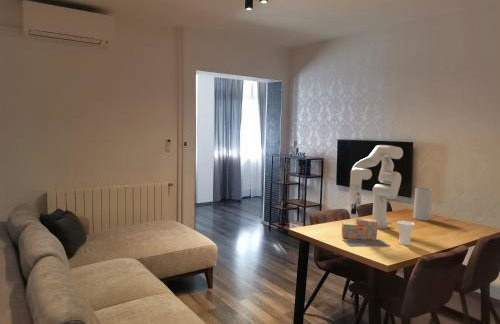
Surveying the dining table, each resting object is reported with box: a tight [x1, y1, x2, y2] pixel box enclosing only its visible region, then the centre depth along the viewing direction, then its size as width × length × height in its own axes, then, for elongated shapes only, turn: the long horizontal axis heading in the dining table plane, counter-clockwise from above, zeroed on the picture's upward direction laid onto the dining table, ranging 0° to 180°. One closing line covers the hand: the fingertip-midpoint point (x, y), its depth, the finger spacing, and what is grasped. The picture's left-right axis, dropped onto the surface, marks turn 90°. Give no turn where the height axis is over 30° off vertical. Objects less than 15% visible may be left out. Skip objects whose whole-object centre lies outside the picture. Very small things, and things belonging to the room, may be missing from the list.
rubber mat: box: [342, 238, 391, 247], centre depth 232 cm, size 26×13×1 cm, turn 98°
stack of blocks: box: [341, 218, 378, 240], centre depth 241 cm, size 21×6×12 cm, turn 84°
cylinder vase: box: [412, 187, 433, 222], centre depth 301 cm, size 12×12×25 cm
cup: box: [396, 220, 415, 246], centre depth 232 cm, size 10×10×14 cm
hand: (353, 213), depth 249 cm, fingers closed
